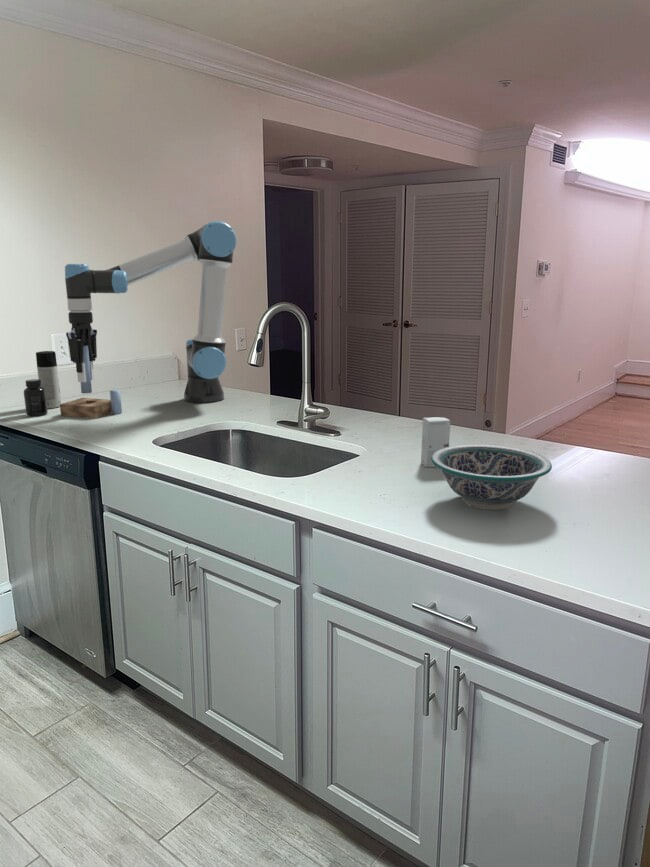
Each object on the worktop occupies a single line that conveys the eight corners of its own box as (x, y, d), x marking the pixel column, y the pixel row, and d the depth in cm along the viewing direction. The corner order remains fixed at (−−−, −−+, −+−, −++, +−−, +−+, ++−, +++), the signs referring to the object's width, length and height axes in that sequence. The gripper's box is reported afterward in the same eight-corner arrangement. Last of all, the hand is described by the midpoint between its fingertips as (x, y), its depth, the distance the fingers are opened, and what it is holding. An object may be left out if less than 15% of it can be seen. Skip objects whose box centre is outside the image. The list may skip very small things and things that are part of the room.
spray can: (65, 406, 238) (59, 351, 233) (48, 409, 232) (42, 353, 227) (53, 404, 241) (48, 350, 236) (37, 407, 236) (31, 352, 231)
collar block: (117, 411, 230) (116, 400, 229) (95, 418, 219) (94, 406, 218) (83, 408, 234) (82, 397, 233) (60, 415, 223) (59, 404, 222)
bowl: (495, 533, 125) (498, 486, 123) (405, 497, 144) (407, 455, 142) (572, 506, 139) (576, 463, 137) (481, 476, 159) (484, 438, 156)
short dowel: (123, 412, 228) (122, 390, 226) (118, 414, 224) (116, 391, 222) (115, 412, 229) (113, 389, 227) (109, 414, 225) (107, 391, 223)
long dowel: (93, 392, 226) (90, 345, 222) (87, 393, 222) (83, 346, 218) (85, 391, 226) (81, 345, 223) (79, 393, 223) (75, 346, 219)
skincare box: (426, 467, 166) (428, 421, 163) (420, 462, 170) (421, 417, 167) (449, 466, 167) (451, 420, 164) (442, 461, 171) (444, 416, 168)
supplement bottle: (51, 412, 227) (48, 378, 224) (41, 417, 221) (37, 382, 218) (32, 412, 228) (29, 378, 225) (22, 416, 222) (18, 381, 219)
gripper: (86, 309, 226) (91, 376, 232) (54, 312, 211) (60, 384, 217) (104, 310, 224) (109, 377, 230) (73, 313, 209) (79, 385, 215)
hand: (85, 380), depth 223 cm, fingers closed on long dowel, 3 cm apart
